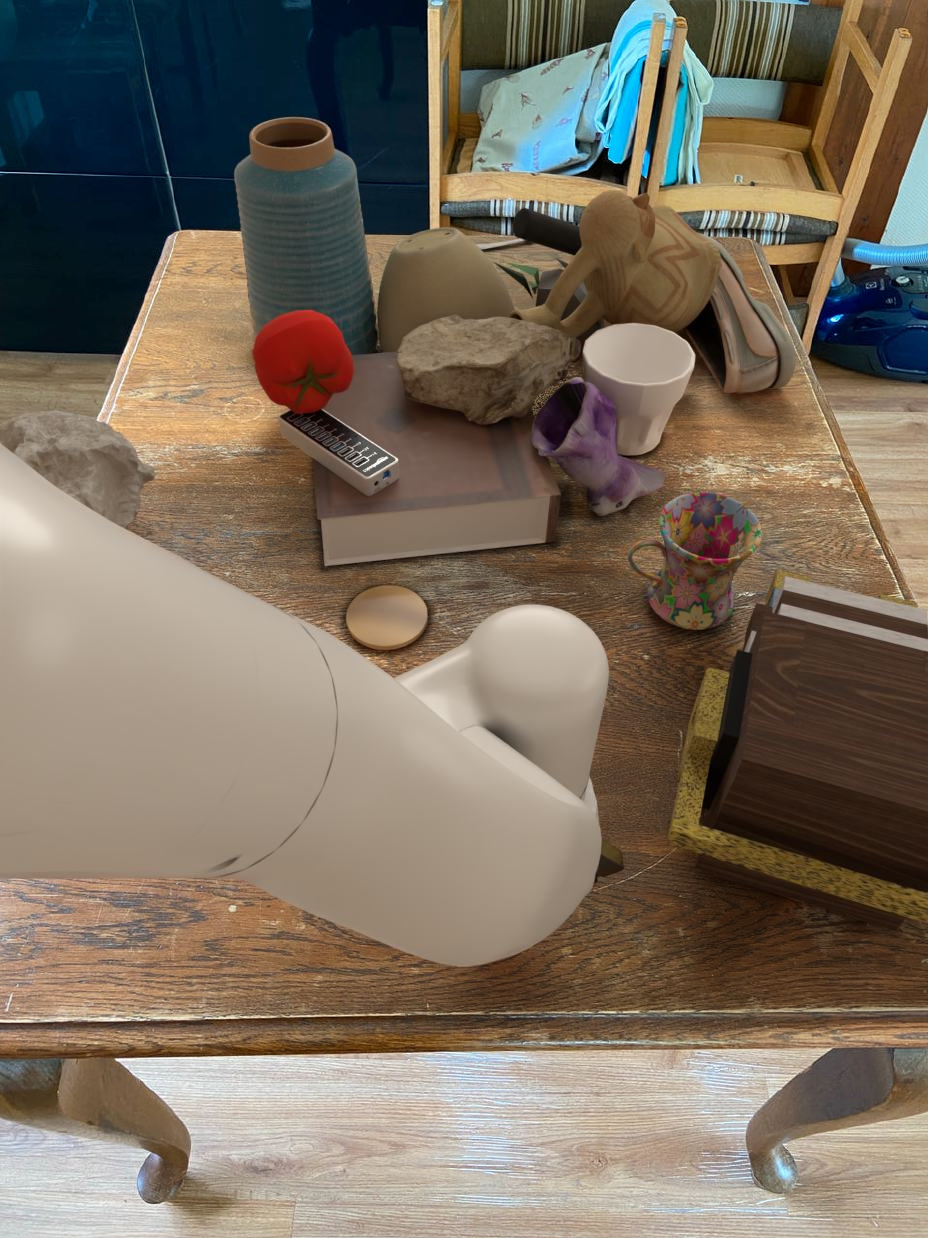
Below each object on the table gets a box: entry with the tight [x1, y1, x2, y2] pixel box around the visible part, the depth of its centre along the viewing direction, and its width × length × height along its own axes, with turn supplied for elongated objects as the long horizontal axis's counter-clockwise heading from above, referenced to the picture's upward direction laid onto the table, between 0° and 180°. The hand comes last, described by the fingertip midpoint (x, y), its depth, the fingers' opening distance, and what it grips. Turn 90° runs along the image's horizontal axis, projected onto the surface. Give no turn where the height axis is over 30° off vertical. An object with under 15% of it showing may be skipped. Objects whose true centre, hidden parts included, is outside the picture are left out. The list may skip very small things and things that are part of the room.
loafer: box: [680, 232, 797, 394], centre depth 118 cm, size 11×30×9 cm
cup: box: [582, 323, 696, 456], centre depth 104 cm, size 12×12×11 cm
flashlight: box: [512, 207, 582, 257], centre depth 124 cm, size 5×24×5 cm
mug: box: [627, 491, 763, 631], centre depth 86 cm, size 12×9×11 cm
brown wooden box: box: [666, 568, 928, 932], centre depth 72 cm, size 21×14×30 cm
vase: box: [233, 116, 379, 355], centre depth 110 cm, size 16×16×27 cm
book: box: [312, 352, 562, 567], centre depth 101 cm, size 24×28×6 cm
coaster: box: [345, 584, 429, 651], centre depth 89 cm, size 8×8×1 cm
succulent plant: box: [491, 257, 605, 353], centre depth 123 cm, size 16×20×9 cm
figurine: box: [532, 376, 666, 517], centre depth 98 cm, size 9×10×15 cm
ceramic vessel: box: [509, 189, 722, 338], centre depth 109 cm, size 17×20×25 cm
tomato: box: [251, 310, 354, 414], centre depth 92 cm, size 10×11×6 cm
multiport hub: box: [277, 409, 399, 496], centre depth 94 cm, size 4×14×2 cm, turn 45°
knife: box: [475, 238, 530, 250], centre depth 139 cm, size 19×2×1 cm, turn 107°
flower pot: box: [376, 227, 515, 353], centre depth 115 cm, size 18×18×12 cm
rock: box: [396, 314, 581, 426], centre depth 101 cm, size 16×10×20 cm
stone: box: [0, 409, 157, 529], centre depth 94 cm, size 17×17×15 cm
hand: (509, 907), depth 67 cm, fingers closed on fruit, 5 cm apart
